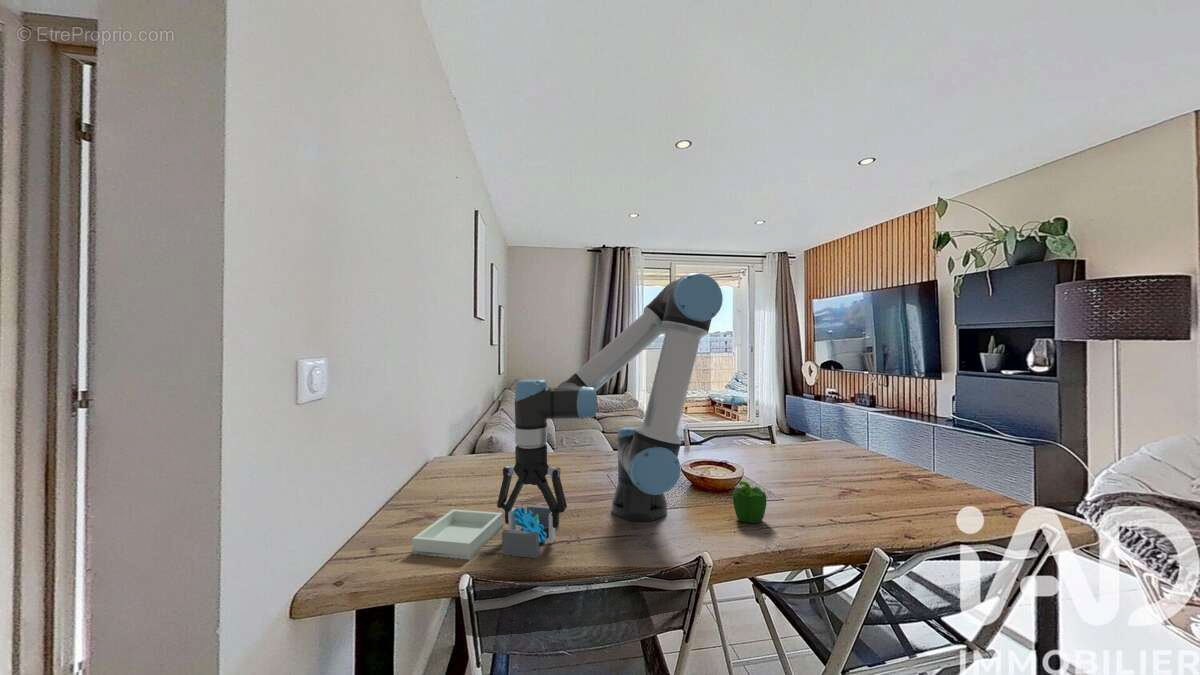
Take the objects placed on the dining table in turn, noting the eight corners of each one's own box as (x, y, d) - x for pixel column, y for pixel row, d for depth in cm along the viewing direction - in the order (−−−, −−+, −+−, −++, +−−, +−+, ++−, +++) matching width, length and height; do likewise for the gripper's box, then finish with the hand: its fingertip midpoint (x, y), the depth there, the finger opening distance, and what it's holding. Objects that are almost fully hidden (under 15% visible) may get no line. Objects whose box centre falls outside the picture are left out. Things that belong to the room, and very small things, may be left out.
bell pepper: (769, 517, 116) (768, 479, 116) (764, 529, 108) (764, 488, 108) (736, 511, 120) (735, 474, 120) (730, 522, 112) (729, 483, 112)
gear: (540, 545, 98) (511, 510, 100) (521, 563, 98) (493, 528, 100) (554, 531, 108) (528, 499, 111) (538, 547, 109) (512, 516, 111)
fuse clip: (558, 526, 111) (558, 506, 111) (536, 558, 95) (536, 535, 95) (529, 524, 113) (528, 504, 113) (502, 554, 97) (501, 532, 97)
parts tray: (503, 526, 112) (502, 512, 112) (470, 559, 95) (469, 543, 95) (453, 522, 114) (452, 509, 114) (412, 554, 98) (412, 538, 98)
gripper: (579, 442, 106) (580, 535, 106) (495, 439, 110) (496, 528, 110) (571, 450, 98) (572, 550, 98) (481, 446, 103) (482, 542, 103)
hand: (532, 538), depth 104 cm, fingers open, 9 cm apart
